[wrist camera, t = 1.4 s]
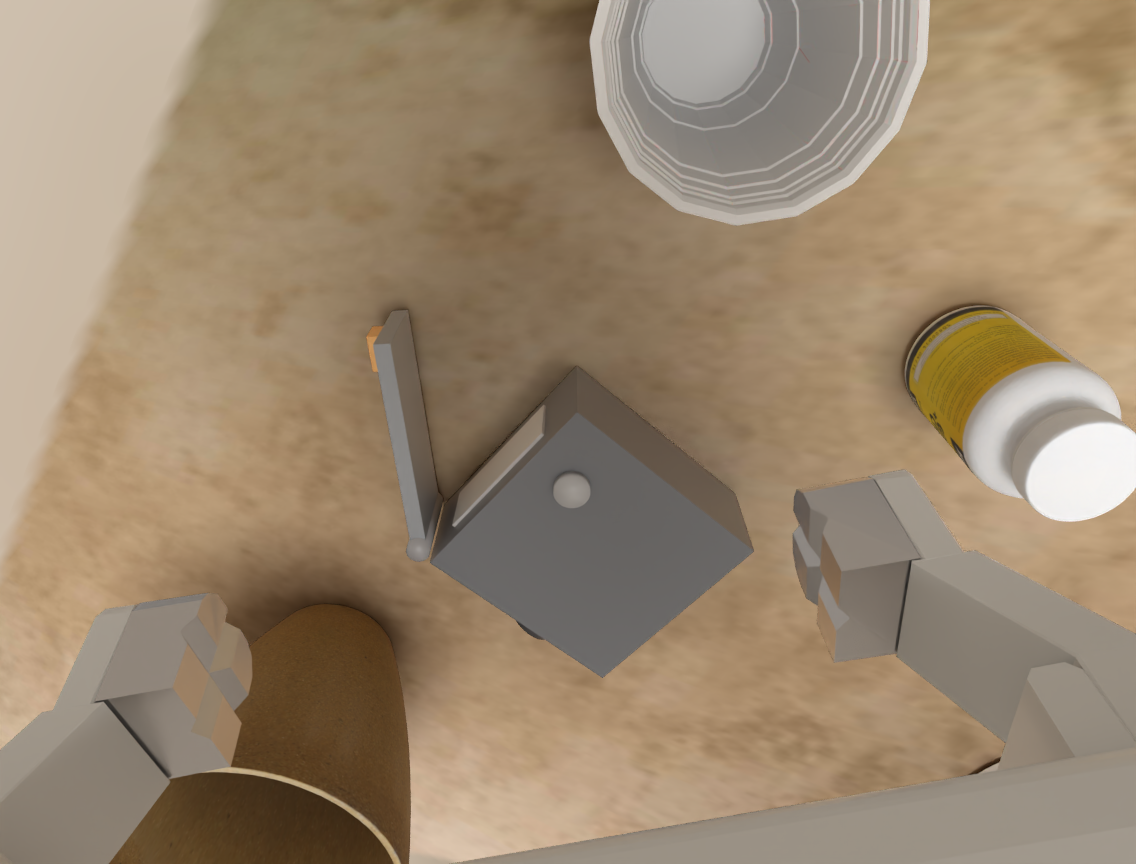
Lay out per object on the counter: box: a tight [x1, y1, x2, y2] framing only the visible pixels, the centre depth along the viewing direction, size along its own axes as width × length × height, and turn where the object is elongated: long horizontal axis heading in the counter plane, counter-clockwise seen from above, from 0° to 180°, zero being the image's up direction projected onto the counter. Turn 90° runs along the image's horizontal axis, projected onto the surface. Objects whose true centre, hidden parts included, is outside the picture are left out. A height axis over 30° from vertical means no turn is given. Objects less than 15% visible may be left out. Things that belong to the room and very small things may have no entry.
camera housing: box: [430, 366, 754, 678], centre depth 45 cm, size 12×12×6 cm
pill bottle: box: [905, 306, 1136, 522], centre depth 38 cm, size 6×6×12 cm
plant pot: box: [109, 604, 411, 864], centre depth 46 cm, size 15×15×16 cm
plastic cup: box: [590, 0, 930, 226], centre depth 31 cm, size 11×11×12 cm
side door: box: [366, 310, 443, 562], centre depth 42 cm, size 2×12×5 cm, turn 4°
